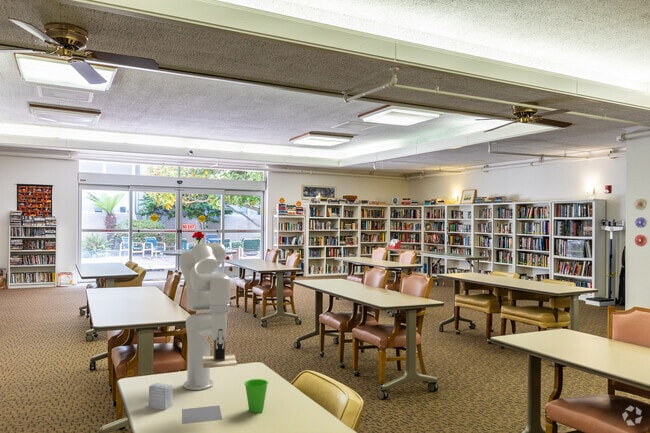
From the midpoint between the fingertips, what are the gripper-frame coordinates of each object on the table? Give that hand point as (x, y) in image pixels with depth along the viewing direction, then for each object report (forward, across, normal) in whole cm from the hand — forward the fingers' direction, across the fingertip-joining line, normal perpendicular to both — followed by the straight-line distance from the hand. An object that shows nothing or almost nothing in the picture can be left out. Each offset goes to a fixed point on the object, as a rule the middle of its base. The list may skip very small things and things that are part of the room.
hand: (219, 357), depth 181 cm
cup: (+22, +1, +14) cm, 26 cm away
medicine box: (+22, -12, -22) cm, 33 cm away
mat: (+21, -1, -6) cm, 22 cm away
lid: (+2, 0, 0) cm, 2 cm away
